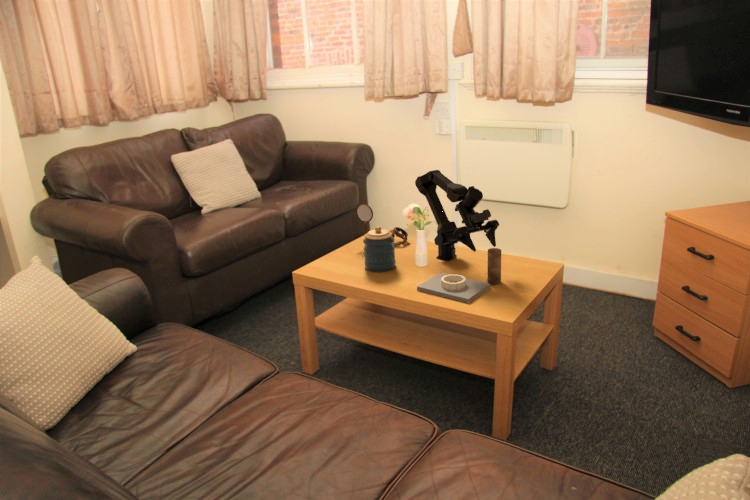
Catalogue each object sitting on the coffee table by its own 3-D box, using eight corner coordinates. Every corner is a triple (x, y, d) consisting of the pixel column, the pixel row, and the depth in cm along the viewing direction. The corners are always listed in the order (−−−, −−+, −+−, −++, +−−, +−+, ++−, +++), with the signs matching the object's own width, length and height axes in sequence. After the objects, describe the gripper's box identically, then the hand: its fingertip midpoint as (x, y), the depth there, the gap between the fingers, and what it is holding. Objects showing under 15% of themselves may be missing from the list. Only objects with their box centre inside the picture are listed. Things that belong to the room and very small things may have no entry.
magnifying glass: (358, 244, 274) (355, 203, 268) (360, 243, 276) (357, 202, 269) (373, 247, 270) (371, 205, 263) (375, 246, 271) (373, 204, 264)
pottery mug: (391, 239, 281) (399, 225, 278) (405, 251, 277) (413, 236, 273) (376, 240, 271) (384, 225, 268) (390, 252, 267) (398, 237, 264)
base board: (417, 290, 221) (416, 280, 220) (440, 276, 233) (440, 266, 232) (468, 303, 208) (468, 292, 207) (490, 287, 220) (490, 277, 218)
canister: (386, 274, 238) (384, 232, 232) (359, 270, 244) (356, 229, 238) (401, 263, 248) (399, 223, 243) (374, 259, 255) (372, 220, 249)
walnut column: (485, 283, 224) (485, 251, 219) (491, 279, 227) (491, 247, 223) (497, 286, 221) (497, 253, 216) (503, 281, 224) (503, 249, 220)
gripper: (456, 207, 220) (473, 243, 214) (496, 199, 228) (514, 233, 222) (445, 222, 229) (461, 257, 224) (484, 214, 237) (501, 247, 231)
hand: (485, 248), depth 225 cm, fingers open, 9 cm apart
